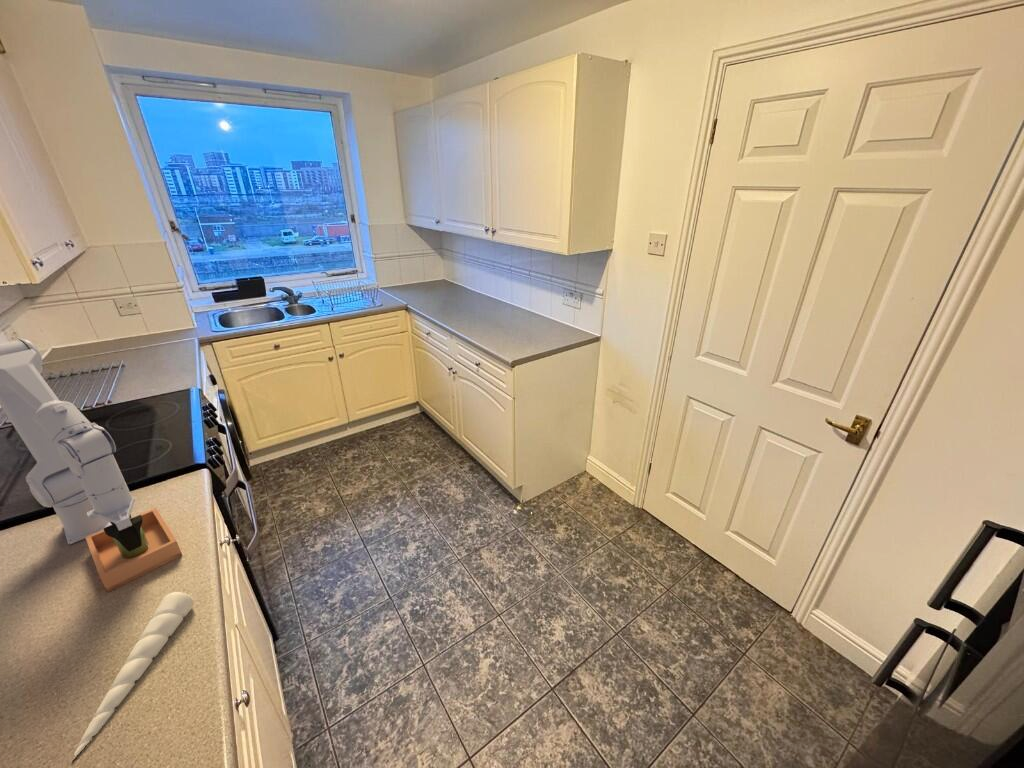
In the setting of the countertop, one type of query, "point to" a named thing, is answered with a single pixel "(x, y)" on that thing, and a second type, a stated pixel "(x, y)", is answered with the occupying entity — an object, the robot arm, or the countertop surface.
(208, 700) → the countertop surface
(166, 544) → the terracotta bin
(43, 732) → the countertop surface
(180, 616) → the unicorn horn
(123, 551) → the cucumber piece
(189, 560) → the countertop surface
